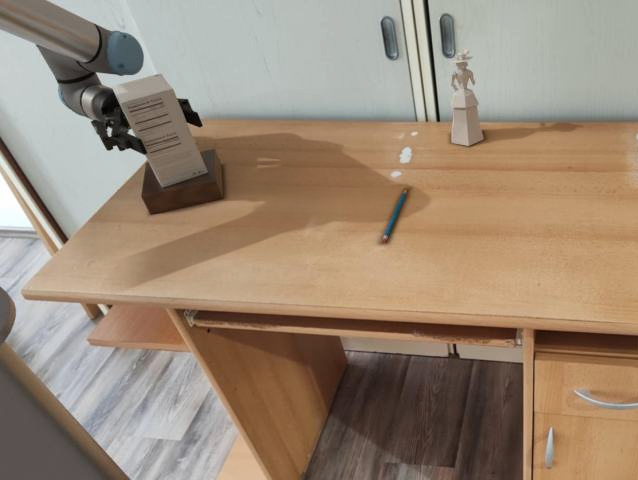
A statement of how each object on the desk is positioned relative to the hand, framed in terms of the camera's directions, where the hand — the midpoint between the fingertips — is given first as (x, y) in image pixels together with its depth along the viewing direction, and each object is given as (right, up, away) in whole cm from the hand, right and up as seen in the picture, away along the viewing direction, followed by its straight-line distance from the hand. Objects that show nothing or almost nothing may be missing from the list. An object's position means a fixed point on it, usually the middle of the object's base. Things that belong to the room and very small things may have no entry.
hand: (171, 133), depth 109 cm
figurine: (+55, +5, +18) cm, 58 cm away
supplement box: (-2, -5, +8) cm, 10 cm away
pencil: (+42, -16, -1) cm, 45 cm away
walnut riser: (-2, -7, +11) cm, 13 cm away
